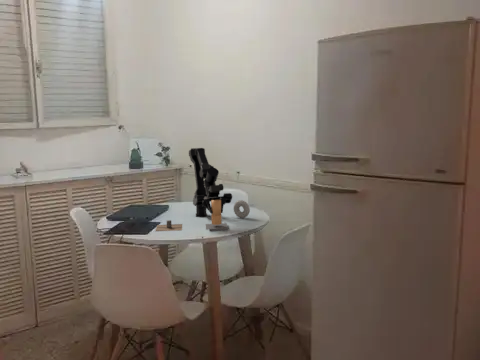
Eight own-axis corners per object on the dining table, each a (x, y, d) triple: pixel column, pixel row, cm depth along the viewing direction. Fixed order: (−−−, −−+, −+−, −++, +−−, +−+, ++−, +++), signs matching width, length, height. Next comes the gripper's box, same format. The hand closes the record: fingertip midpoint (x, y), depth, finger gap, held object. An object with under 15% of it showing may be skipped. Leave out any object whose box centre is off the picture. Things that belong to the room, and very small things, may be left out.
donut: (232, 217, 276) (232, 200, 274) (235, 216, 279) (235, 198, 277) (247, 219, 270) (247, 201, 269) (251, 218, 273) (250, 200, 272)
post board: (157, 226, 257) (156, 218, 256) (182, 225, 258) (182, 217, 257) (155, 233, 244) (155, 224, 243) (182, 232, 245) (181, 223, 245)
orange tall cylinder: (209, 223, 252) (209, 200, 250) (216, 221, 256) (216, 199, 254) (216, 225, 249) (216, 201, 247) (223, 223, 252) (223, 200, 250)
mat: (205, 226, 257) (205, 224, 257) (226, 225, 258) (226, 223, 258) (206, 231, 246) (206, 229, 246) (228, 230, 248) (228, 228, 247)
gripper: (195, 179, 249) (201, 205, 241) (231, 177, 255) (238, 202, 247) (192, 192, 258) (198, 217, 249) (226, 190, 264) (233, 214, 255)
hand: (217, 212), depth 250 cm, fingers closed on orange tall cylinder, 5 cm apart
